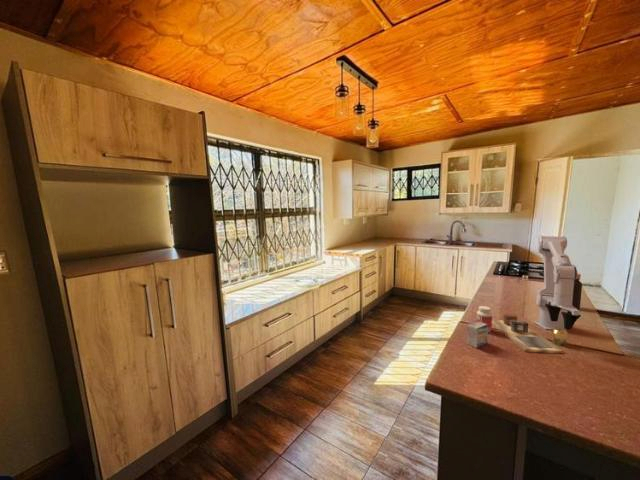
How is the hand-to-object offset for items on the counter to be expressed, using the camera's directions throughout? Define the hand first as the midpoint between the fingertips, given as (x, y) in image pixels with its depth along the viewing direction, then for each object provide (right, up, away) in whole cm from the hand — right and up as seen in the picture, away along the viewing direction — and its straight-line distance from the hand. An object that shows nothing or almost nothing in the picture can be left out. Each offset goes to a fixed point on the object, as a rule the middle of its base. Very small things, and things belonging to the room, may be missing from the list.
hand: (560, 325), depth 109 cm
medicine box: (-34, -9, +3) cm, 35 cm away
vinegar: (+41, -3, +37) cm, 55 cm away
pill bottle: (-23, -8, +15) cm, 29 cm away
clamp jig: (-10, -8, +9) cm, 15 cm away
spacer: (0, -8, +1) cm, 8 cm away
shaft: (-9, -6, +14) cm, 18 cm away
